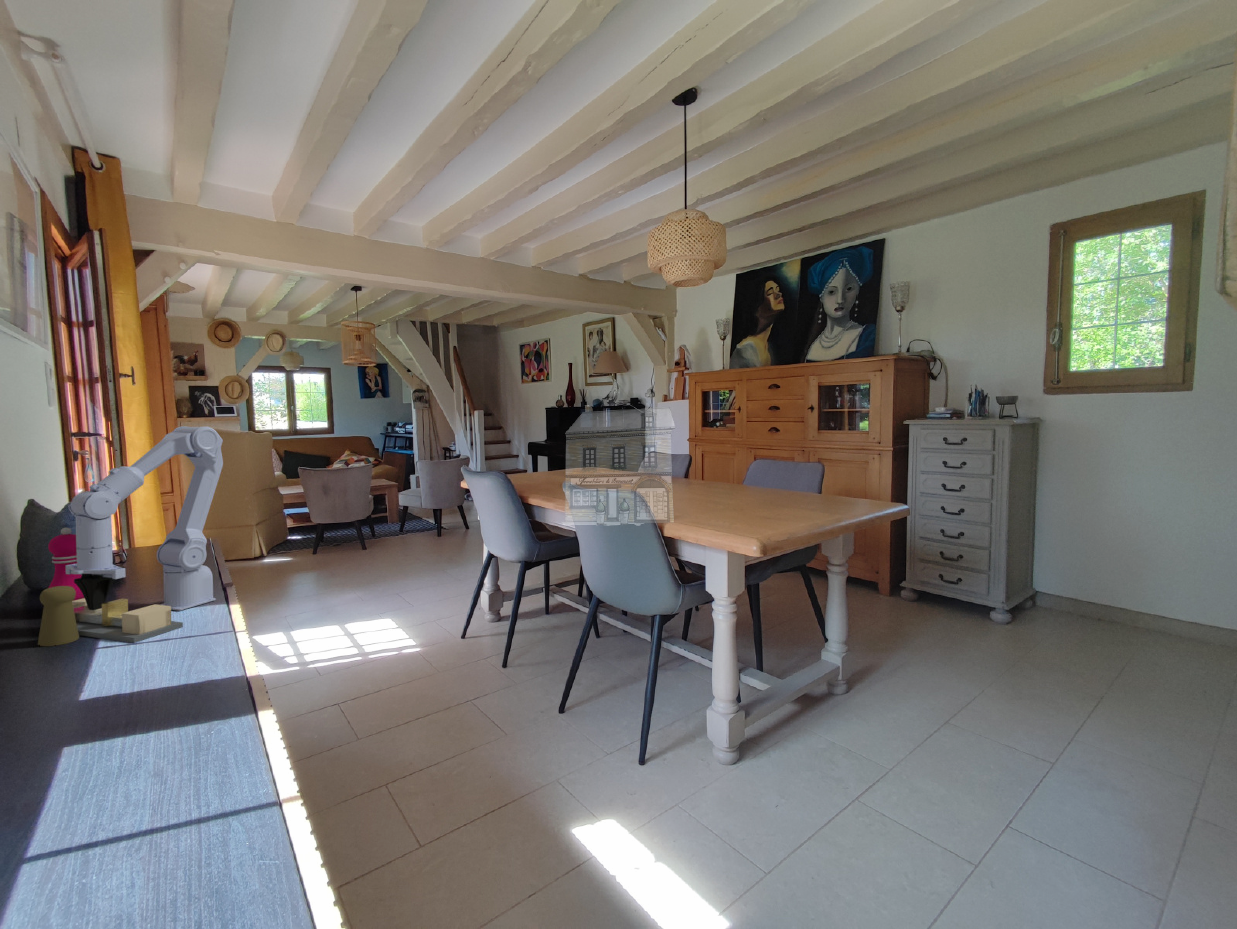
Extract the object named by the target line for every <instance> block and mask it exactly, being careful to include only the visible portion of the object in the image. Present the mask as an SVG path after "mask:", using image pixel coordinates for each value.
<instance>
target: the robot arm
mask: <svg viewBox="0 0 1237 929" xmlns="http://www.w3.org/2000/svg"><path fill="white" fill-rule="evenodd" d="M223 442H224V440H223V438H222V437H221V436H220V434H219V433H218V431H216V430H215V429H214V428H213V427H210V426H184V425H182V426H178V427H176V428H174V430H173V431H171V432H169V433H166V434H165V435H164V437H163V438H161V440H160V441H159V442H158V443H157V444H155V445H154V446H153V447H152V448H151V449H150V450H148V451H147V452H146V453H144V455H142V456H141V457H140V458H139V459H137V460H136V461H135V462H134V463H133V464H131V465H130V466H125V465H124V466H123V465H121V466H119V467H118V468H116V467H113V468H111V469H110V470H109V471H108V473H109V474H108V475H107V476H106V477H104V478H102V479H101V480H100V481H98V482H97V483H92V484H91V485H90V486H89V490H86V491H81V492H80V493H77V494H76V495H75V496H73V498H72V499H71V502H70V504H68V506H67V507H68V510H69V512H70V513H71V514H72V515H73V516H74V517H75V535H76V549H77V564H71V565H66V574H81V575H82V576H81V578H77V579H74V583H75V584H76V585H77V586H78V587H79V589H80V590H81V592H82V593H83V596H84V598H85V600H86V603H87V606H88V608H89V610H97V609H100V608H102V603H106V602H107V598H108V595H109V591H110V589H111V588H112V587H113V584H114V582H115V581H116V580H119V579H122V578H123V579H124V578H126V568H124V567H120V566H117V565H115V564H113V560H114V559H113V557H114V556H113V533H112V532H113V530H112V527H113V526H112V515H115V514H116V512H117V510H118V508H119V504H120V503H122V502H124V500H125V499H127V498H128V497H129V496H130V495H132V494H133V493H134V492H136V491H137V490H138V489H140V488H141V487H142V486H144V483H145V477H146V476H148V474H150V473H151V472H153V471H155V470H156V469H157V468H159V467H160V466H161V465H163V464H164V463H166V462H168V460H170V459H171V458H173V457H174V456H178V455H184V456H185V457H187V458H188V459H189V461H191V463H192V464H193V466H194V470H193V472H192V476H191V479H190V483H189V485H188V488H187V492H186V494H185V498H184V500H183V501H184V502H183V504H182V507H181V510H180V514H179V516H178V519H177V522H176V526H175V528H174V529H173V530H172V531H170V532H169V533H168V534H167V535H166V536H165V540H164V542H163V543H162V544H160V546H159V547H158V548H157V551H156V560H157V561H158V563H160V564H161V565H162V569H163V570H162V571H163V572H162V573H163V574H162V575H163V603H161V604H158V605H165V606H171V611H182V610H187V609H190V608H193V607H196V606H200V605H204V604H207V603H210V602H213V601H216V600H217V598H215V597H214V583H213V582H214V579H213V578H214V577H213V576H214V575H213V572H212V571H211V568H210V567H208V566H207V565H203V564H204V563H205V561H206V559H207V549H206V547H207V543H208V539H207V538H206V536H205V535H204V533H203V531H204V527H205V524H206V521H207V519H208V518H207V517H208V515H209V512H210V508H211V505H212V502H213V498H214V495H215V492H216V488H217V486H218V483H219V480H220V476H221V472H222V470H223V466H224V458H223V454H222V445H223Z"/></svg>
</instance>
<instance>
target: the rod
mask: <svg viewBox="0 0 1237 929" xmlns="http://www.w3.org/2000/svg"><path fill="white" fill-rule="evenodd" d="M125 612H129V600H128V598H120V599H115V600H111V601H106V602H105V603H102V610H98V609H97V610H89V608H77V609H74V614H75V619H76V621H80V622H88V623H96V624H102V625H103V626H110V625H111V626H119V627H122V613H125Z"/></svg>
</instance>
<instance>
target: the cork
mask: <svg viewBox="0 0 1237 929" xmlns="http://www.w3.org/2000/svg"><path fill="white" fill-rule="evenodd" d="M75 596H76V591H75V589H74V588H73V587H70V586H57V587H51V588H49V587H47V588H46V589H44V590H42V591H41V593H40V595H39V601H40V604H42V605H43V608H42V616H41V622H40V627H39V628H40V629H39V634H38V640H37V646H39V645H40V646H39V647H54V646H55V645H56V646H62V645H66V644H70V643H72V642H75V641H78V640H80V635H79V634H78V629H77V624H76V619H75V614H74V609H73V604H72V601H73V600H74V599H75Z"/></svg>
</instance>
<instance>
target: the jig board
mask: <svg viewBox="0 0 1237 929" xmlns="http://www.w3.org/2000/svg"><path fill="white" fill-rule="evenodd" d="M72 604H73V609H75V608H79V607H83V606H84V608H88V606H87V603H86V600H85V598H83V599H79V600H75V601H72ZM98 610H102V608H100V609H98ZM183 623H184V622H181V621H176V620H175V621H173V620H172V610H171V606H165V605H159V604H157V603H156V604H155V603H154V604H152V605H151V604H150V605H148V606H147V605H146V606H144V607H139V608H136V609H133V610H128V612H125V613H122V627H119V626H111V625H110V626H103V625H102V624H96V623H88V622H80V621H76V624H77V629H78V634H79V636H82V637H90V638H97V639H104V640H110V641H119V642H124V643H126V642H127V643H138V642H140V641H141V642H142V641H145V640H147V639H150V638H154V637H156V636H159V635H162V634H166V633H168V632H171V631H175V630H177V629H180V628H183V625H184V624H183Z"/></svg>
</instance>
